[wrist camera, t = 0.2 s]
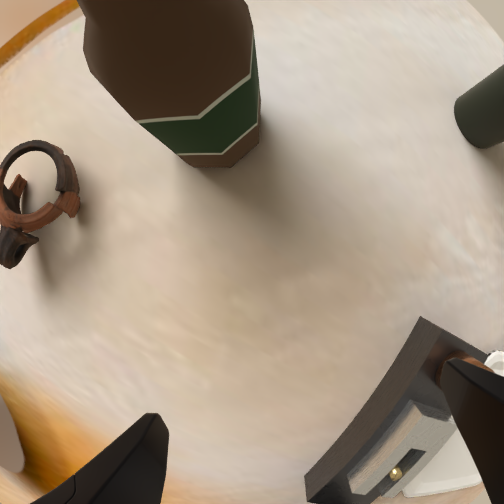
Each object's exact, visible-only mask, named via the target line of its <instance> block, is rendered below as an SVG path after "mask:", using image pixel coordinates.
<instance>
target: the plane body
mask: <svg viewBox="0 0 504 504" xmlns="http://www.w3.org/2000/svg"><path fill="white" fill-rule="evenodd" d="M488 356H489V355H487V354H485V353H484V352H482V351H480V350H479V349H477V348H475V347H474V346H472V345H470V344H468V343H467V342H465V341H463V340H462V339H460V338H458V337H456V336H454V335H453V334H451V333H449V332H447V331H446V330H444V329H442V328H440V327H439V326H437V325H435V324H433V323H431V322H430V321H428V320H426V319H424V318H422V317H421V316H420V317H419V319H418V321H417V323H416V325H415V327H414V329H413V330H412V332H411V334H410V336H409V337H408V339H407V341H406V343H405V344H404V346H403V348H402V349H401V351H400V353H399V354H398V356H397V358H396V359H395V361H394V362H393V364H392V366H391V367H390V369H389V370H388V372H387V373H386V375H385V376H384V378H383V379H382V381H381V382H380V384H379V385H378V387H377V388H376V390H375V391H374V393H373V394H372V395H371V397H370V398H369V400H368V401H367V402H366V404H365V405H364V406H363V408H362V409H361V411H360V412H359V413H358V414H357V416H356V417H355V418H354V420H353V421H352V422H351V423H350V425H349V426H348V427H347V428H346V430H345V431H344V432H343V433H342V435H341V436H340V437H339V438H338V439H337V441H336V442H335V443H334V444H333V445H332V446H331V448H330V449H329V450H328V451H327V452H326V453H325V454H324V456H323V457H322V458H321V459H320V460H319V461H318V462H317V463H316V464H315V465H314V466H313V467H312V468H311V470H310V471H309V472H308V473H307V474H306V475H305V476H304V477H305V487H306V497H307V502H310V503H316V504H370V503H372V502H373V501H374V500H375V499H376V498H377V497H378V496H380V495H381V493H380V491H379V488H378V485H376V486H375V487H373V488H372V489H371V490H370V491H369V492H368V493H367V494H366V495H362V494H355V493H352V491H351V488H350V484H349V481H348V477H347V474H348V473H349V472H350V471H351V470H352V469H353V468H354V467H355V466H356V465H357V464H358V463H359V462H360V461H361V459H362V458H363V457H364V456H365V455H366V454H367V453H368V452H369V451H370V450H371V448H372V447H373V446H374V445H375V444H376V443H377V441H378V440H379V439H380V438H381V437H382V436H383V434H384V433H385V432H386V431H387V429H388V428H389V427H390V426H391V424H392V423H393V422H394V421H395V419H396V418H397V417H398V415H399V414H400V413H401V411H402V410H403V409H404V407H405V406H406V405H407V403H408V402H409V400H413V401H416V402H419V403H422V404H425V405H428V406H431V407H434V408H437V409H440V410H443V411H446V412H447V413H448V414H449V415H450V416H451V415H452V414H451V411H450V409H449V406H448V403H447V401H446V398H445V396H444V393H443V391H442V389H441V386H440V378H441V374H442V369H443V365H444V363H445V361H447V360H449V359H452V358H459V359H461V360H464V361H466V362H469V363H471V364H474V365H476V366H478V367H481V368H483V369H486V370H488V371H491V372H493V373H495V372H494V371H493V370H492V369H490V368H489V367H487V366H486V365H484V364H485V362H486V360H487V358H488ZM389 475H390V477H391V480H392V481H396V480H398V479H400V478H401V477H402V475H403V474H402V472H401V470H400V468H399V466H398V464H396V466H395V467H394V468H393V469H392V470H391V471H390V472H389Z"/></svg>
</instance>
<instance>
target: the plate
mask: <svg viewBox="0 0 504 504" xmlns="http://www.w3.org/2000/svg"><path fill="white" fill-rule="evenodd" d="M488 355H489V356H488V358H487V360H486V362H485V364H484V365H486V366H487V367H489V368H490V369H492V370H493V371H494V372H495V373H496V374H498V375H501V376H503V377H504V351H499V350H494V351H492V352H490V353H489V354H488ZM451 417H452V415H451ZM452 418H453V417H452ZM481 482H482V479H481V476H480V474H479V472H478V469H477V467H476V465H475V463H474V461H473V458H472V456H471V454H470V452H469V450H468V448H467V446H466V444H465V442H464V440H463V438H462V436H461V434H460V432H459V430H458V428H457V429H456V431H455V432H454V433H453V435H452V436H451V437H450V438H449V440H448V441H447V442H446V443H445V445H444V446H443V447H442V448H441V449H440V451H439V452H438V453H437V454H436V455H435V456H434V457H433V459H432V460H431V461H430V462H429V463H428V464H427V465H426V466H425V467H424V468H423V469H422V471H421V472H420V473H419V474H418V475H417V476H416V477H415V478H414V479H413V480H412V481H411V482H410V483H409V484H408V485H407V486H406V487H405V488H404V489H402V492H403V494H404V496H405V497H407V498H411V497H419V496H426V495H433V494H439V493H444V492H449V491H454V490H459V489H463V488H468V487H472V486H476V485H478V484H480V483H481Z"/></svg>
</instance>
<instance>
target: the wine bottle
mask: <svg viewBox="0 0 504 504" xmlns="http://www.w3.org/2000/svg"><path fill="white" fill-rule="evenodd" d="M454 113H455V118H456V121H457V124H458V126H459V128H460V130H461V132H462V133H463V135H464V136H465V137H466V139H467V140H468V141H469V142H470V143H472V144H473V145H474V146H476V147H478V148H483V149H485V148H488V147H491V146H494V145H496V144H499V143H501V142H504V65H502V66H501V67H500V68H498V69H497V70H496V71H494V72H493V73H492V74H490V75H489V76H487V77H486V78H485V79H483V80H482V81H481V82H479V83H478V84H477V85H475V86H474V87H473V88H471V89H470V90H468V91H467V92H466V93H464V94H463V95H462V96H460V97H459V98H458V99H457V100H456V102H455V106H454Z"/></svg>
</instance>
